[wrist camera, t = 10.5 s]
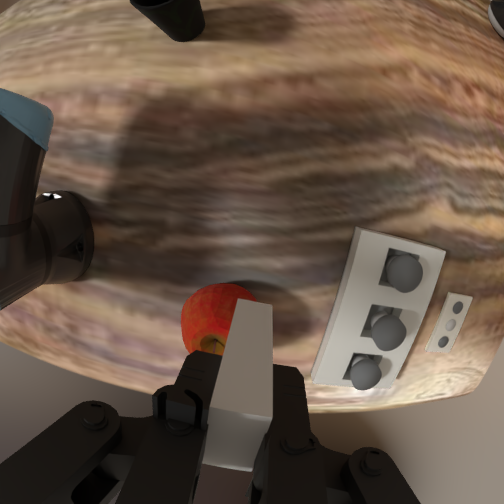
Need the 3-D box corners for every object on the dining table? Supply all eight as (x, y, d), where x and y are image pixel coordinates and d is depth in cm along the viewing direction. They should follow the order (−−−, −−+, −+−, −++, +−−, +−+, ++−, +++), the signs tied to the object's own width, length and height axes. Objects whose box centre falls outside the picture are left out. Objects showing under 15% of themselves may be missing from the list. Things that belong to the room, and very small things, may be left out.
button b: (361, 332, 39) (370, 349, 34) (371, 303, 38) (382, 319, 33) (387, 335, 39) (398, 352, 34) (398, 308, 37) (411, 323, 33)
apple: (176, 296, 41) (150, 331, 31) (239, 261, 39) (228, 290, 29) (216, 351, 43) (202, 396, 33) (277, 323, 41) (279, 366, 31)
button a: (375, 277, 38) (387, 290, 33) (384, 246, 37) (398, 255, 32) (402, 282, 38) (416, 295, 33) (411, 252, 37) (427, 261, 32)
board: (310, 372, 43) (312, 383, 40) (355, 226, 37) (361, 229, 34) (384, 378, 43) (390, 388, 40) (435, 246, 37) (445, 251, 34)
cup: (221, 14, 31) (205, -33, 19) (196, 53, 32) (170, 12, 21) (177, 4, 30) (151, -38, 19) (152, 42, 32) (116, 6, 20)
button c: (341, 370, 42) (347, 389, 37) (351, 347, 41) (359, 365, 36) (366, 372, 42) (374, 390, 37) (377, 350, 41) (386, 367, 36)
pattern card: (424, 349, 41) (426, 352, 41) (448, 291, 39) (451, 293, 38) (447, 350, 41) (449, 353, 41) (471, 296, 39) (473, 298, 38)
